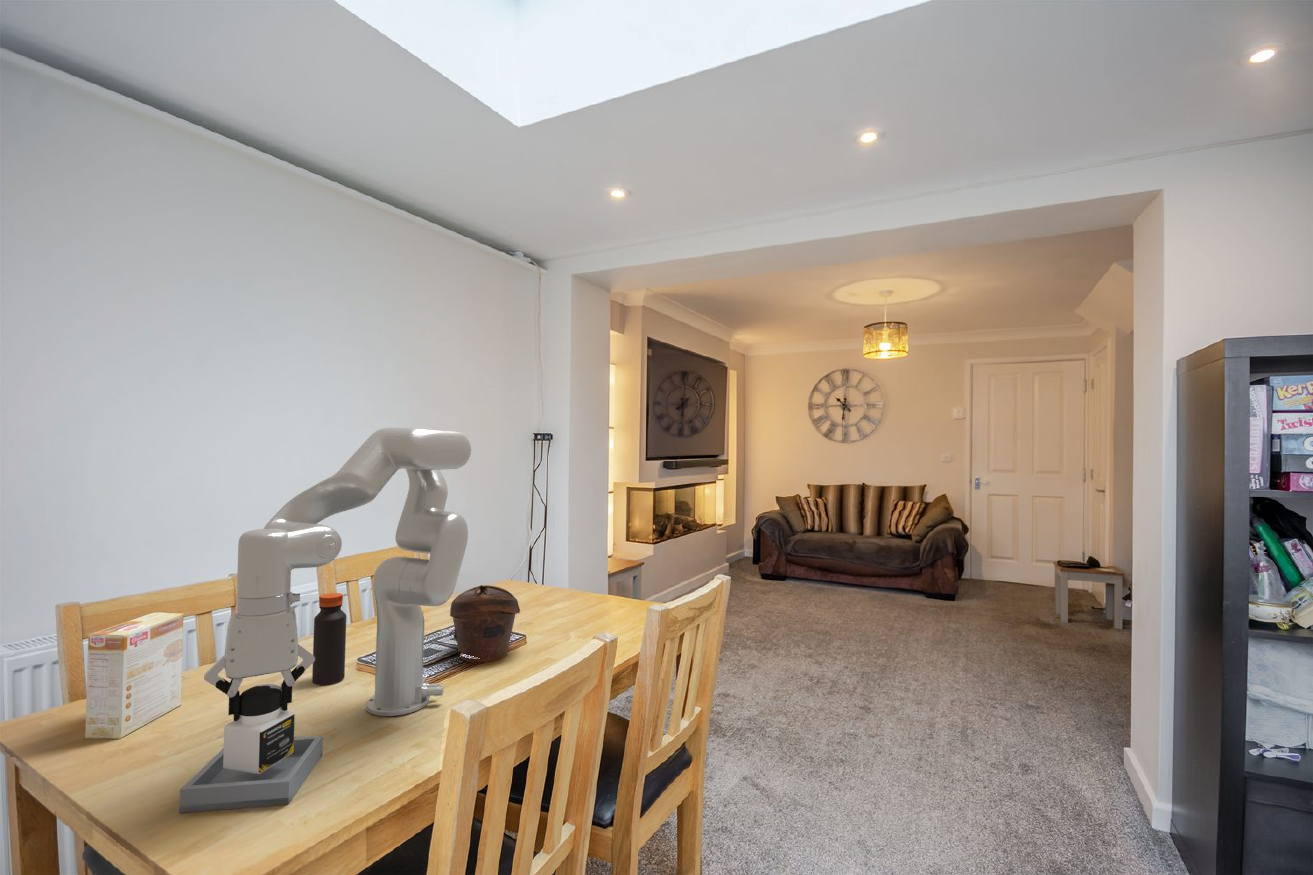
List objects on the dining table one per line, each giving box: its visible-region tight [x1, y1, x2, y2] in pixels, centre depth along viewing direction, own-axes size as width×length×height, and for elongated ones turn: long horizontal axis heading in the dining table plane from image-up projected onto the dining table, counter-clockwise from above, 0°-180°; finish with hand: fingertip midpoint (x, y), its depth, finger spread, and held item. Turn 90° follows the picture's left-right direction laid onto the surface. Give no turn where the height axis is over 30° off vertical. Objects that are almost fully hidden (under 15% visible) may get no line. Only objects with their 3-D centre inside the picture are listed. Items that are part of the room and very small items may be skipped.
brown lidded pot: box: [449, 584, 521, 663], centre depth 163 cm, size 18×20×18 cm
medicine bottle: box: [223, 683, 296, 774], centre depth 100 cm, size 7×7×12 cm
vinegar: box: [311, 592, 347, 686], centre depth 142 cm, size 7×7×20 cm
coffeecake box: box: [84, 612, 185, 740], centre depth 120 cm, size 15×7×20 cm, turn 1°
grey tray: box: [178, 735, 324, 814], centre depth 100 cm, size 15×15×4 cm
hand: (260, 711), depth 100 cm, fingers closed on medicine bottle, 6 cm apart
